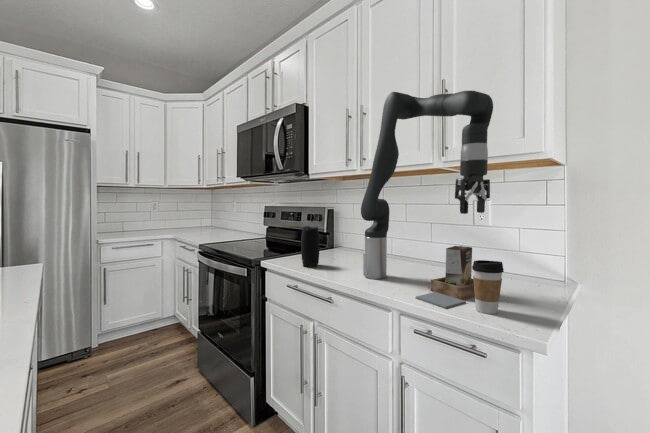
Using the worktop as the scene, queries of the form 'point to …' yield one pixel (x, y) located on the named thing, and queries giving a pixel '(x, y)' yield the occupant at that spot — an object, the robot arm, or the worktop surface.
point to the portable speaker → (310, 246)
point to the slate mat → (440, 300)
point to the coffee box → (458, 265)
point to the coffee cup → (487, 285)
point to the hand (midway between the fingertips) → (472, 213)
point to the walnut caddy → (453, 289)
